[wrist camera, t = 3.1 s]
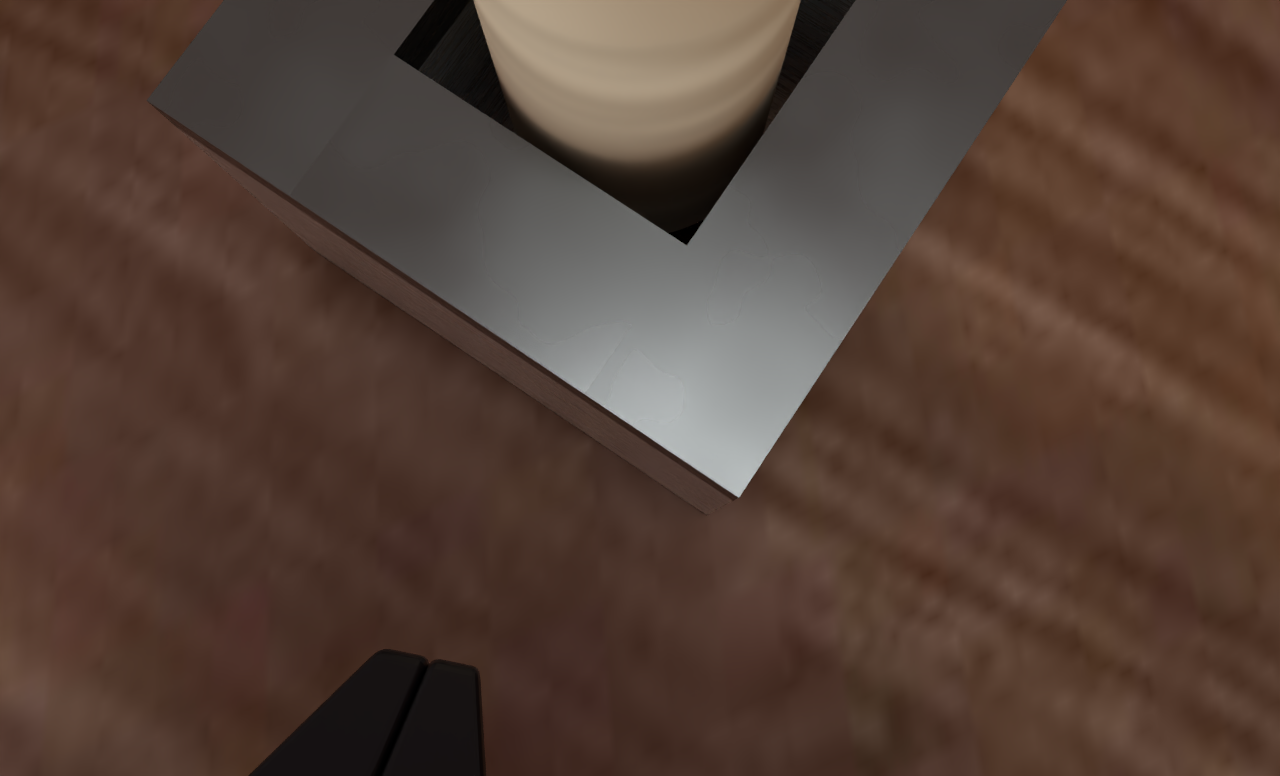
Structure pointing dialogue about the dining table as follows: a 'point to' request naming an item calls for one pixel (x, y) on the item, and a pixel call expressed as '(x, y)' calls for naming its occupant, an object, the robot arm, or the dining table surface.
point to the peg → (642, 91)
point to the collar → (605, 204)
